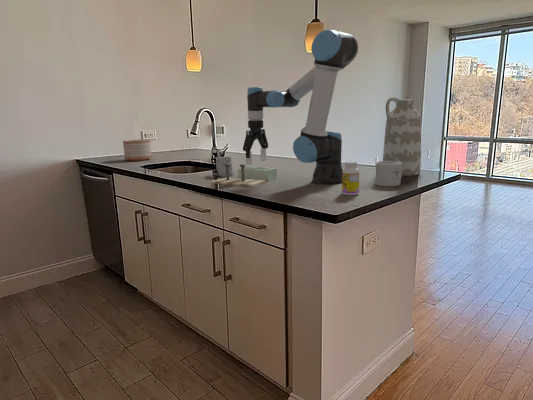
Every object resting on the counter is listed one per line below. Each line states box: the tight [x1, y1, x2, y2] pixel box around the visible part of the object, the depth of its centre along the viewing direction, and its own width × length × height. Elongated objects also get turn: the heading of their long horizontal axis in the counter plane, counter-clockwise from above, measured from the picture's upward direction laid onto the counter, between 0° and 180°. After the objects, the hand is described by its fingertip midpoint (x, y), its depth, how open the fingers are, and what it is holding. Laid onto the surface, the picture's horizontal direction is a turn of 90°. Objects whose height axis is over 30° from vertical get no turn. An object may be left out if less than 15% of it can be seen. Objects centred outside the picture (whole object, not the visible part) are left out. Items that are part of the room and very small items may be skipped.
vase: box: [382, 96, 422, 177], centre depth 198 cm, size 20×19×38 cm
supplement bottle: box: [341, 160, 360, 196], centre depth 155 cm, size 7×7×13 cm
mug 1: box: [215, 152, 234, 178], centre depth 210 cm, size 8×12×12 cm, turn 44°
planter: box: [122, 138, 152, 162], centre depth 292 cm, size 19×19×15 cm
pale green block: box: [237, 166, 278, 181], centre depth 199 cm, size 18×8×5 cm, turn 59°
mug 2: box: [374, 160, 403, 188], centre depth 173 cm, size 14×11×10 cm
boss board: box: [210, 163, 268, 188], centre depth 186 cm, size 24×12×9 cm, turn 59°
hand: (256, 162), depth 198 cm, fingers open, 13 cm apart
